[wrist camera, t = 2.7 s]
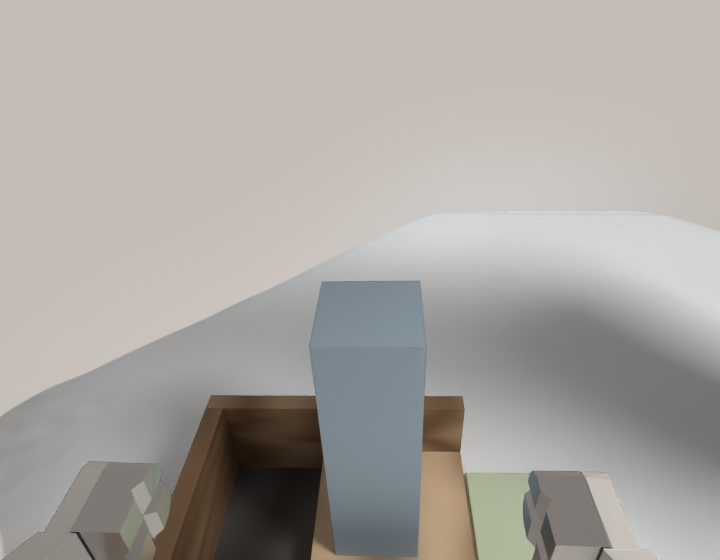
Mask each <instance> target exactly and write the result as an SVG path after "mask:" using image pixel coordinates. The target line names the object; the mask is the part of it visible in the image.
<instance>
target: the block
mask: <svg viewBox="0 0 720 560" xmlns="http://www.w3.org/2000/svg"><path fill="white" fill-rule="evenodd" d="M309 349H310V357H311V364H312V372H313V380H314V388H315V395H316V403H317V411H318V419H319V427H320V434H321V442H322V450H323V458H324V465H325V473H326V481H327V489H328V496H329V504H330V512H331V520H332V528H333V535H334V543H335V551H336V556H373V557H416V558H418V537H419V513H420V488H421V464H422V439H423V414H424V390H425V365H426V339H425V328H424V318H423V307H422V296H421V286H420V281H344V282H322V283H321V288H320V293H319V299H318V304H317V309H316V314H315V320H314V325H313V330H312V335H311V340H310V346H309Z"/></svg>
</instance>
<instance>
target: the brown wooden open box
mask: <svg viewBox="0 0 720 560" xmlns="http://www.w3.org/2000/svg"><path fill="white" fill-rule="evenodd" d="M463 419H464V403H463V397H459V396H424V414H423V439H422V464H421V488H420V513H419V537H418V558H416V557H373V556H336V551H335V543H334V535H333V528H332V520H331V512H330V504H329V496H328V489H327V481H326V473H325V465H324V458H323V450H322V442H321V434H320V427H319V419H318V411H317V403H316V396H230V395H211V397H210V399H209V402H208V405H207V407H206V410H205V412H204V415H203V417H202V420H201V423H200V425H199V428H198V430H197V433H196V436H195V438H194V441H193V443H192V446H191V449H190V451H189V454H188V456H187V459H186V462H185V464H184V467H183V469H182V472H181V475H180V477H179V480H178V482H177V485H176V488H175V490H174V493H173V495H172V498H171V504H170V511H169V516H168V519H167V522H166V525H165V527H164V529H163V530H162V531H161V532H160V533H159V534H158V535H157V537H156V540H155V546H156V551H155V554H154V556H153V559H152V560H475V555H474V548H473V541H472V534H471V526H470V519H469V512H468V505H467V498H466V491H465V484H464V477H463V469H462V462H461V455H460V448H461V438H462V429H463Z"/></svg>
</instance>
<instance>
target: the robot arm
mask: <svg viewBox="0 0 720 560" xmlns="http://www.w3.org/2000/svg"><path fill="white" fill-rule="evenodd" d="M161 476H162V471H161V468H160V466H159V464H152V463H123V462H94V461H89V462H88V463H87V464H86V465H85V466H84V467H82V469H81V470H80V472H79V474H78V475H77V477H76V479H75V480H74V482H73V484H72V486H71V487H70V489H69V491H68V492H67V494H66V496H65V498H64V499H63V501H62V503H61V504H60V506H59V508H58V510H57V511H56V513H55V515H54V516H53V518H52V520H51V521H50V523H49V525H48V527H47V528H46V530H45V532H37V533H36V534H34V535H33V536H32V537H31V538H29V539H28V540H27V541H25V542H24V543H23V544H22V545H20V546H19V547H18V548H16V549H15V550H14V551H13V552H11V553H10V554H9V555H7V556H6V557H5V558H4V559H2V560H152V559H153V556H154V554H155V551H156V546H155V542H154V539H153V538H154V537H155V536H156V535H158V534H159V533H160V532H161V531H162V530H163V529H164V527H165V525H166V522H167V519H168V516H169V511H170V504H171V497H170V491H169V488H168V485H166V484H165V483H164V482H162V481H161V480H160V478H161ZM528 484H529V488H530V490H529V491H528V492H526V493H525V495H524V500H523V521H524V528H525V532H526V537H527V539H528V541H529V542H530V543H531V544H532V545H533V546H534V547H535V551H534V554H533V558H532V560H658V559H657V558H656V557H655V556H653V555H652V554H651V553H650V552H649V551H648V550H643V549H639V546H638V544H637V542H636V539H635V537H634V534H633V532H632V530H631V527H630V525H629V523H628V520H627V518H626V515H625V513H624V511H623V508H622V506H621V503H620V501H619V499H618V496H617V494H616V491H615V489H614V487H613V484H612V482H611V479H610V477H609V476H608V475H607V474H606V473H604V472H579V471H532V472H531V473H530V475H529V478H528Z"/></svg>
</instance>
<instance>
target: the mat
mask: <svg viewBox="0 0 720 560" xmlns="http://www.w3.org/2000/svg"><path fill="white" fill-rule="evenodd" d="M529 475H530V473H466V481H467V488H468V495H469V502H470V509H471V516H472V523H473V529H474V536H475V543H476V550H477V557H478V560H532V558H533V554H534V551H535V547H534V546H533V545H532V544H531V543H530V542H529V541H528V539H527V537H526V532H525V528H524V521H523V500H524V495H525V493H526V492H528V491H529V490H530V488H529V484H528V478H529Z"/></svg>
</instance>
